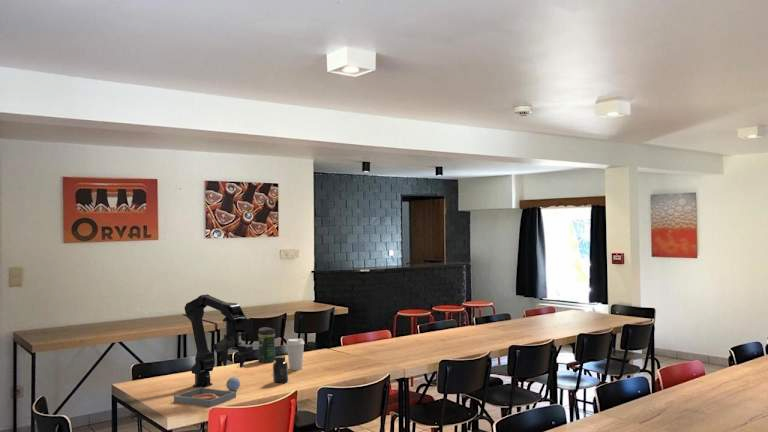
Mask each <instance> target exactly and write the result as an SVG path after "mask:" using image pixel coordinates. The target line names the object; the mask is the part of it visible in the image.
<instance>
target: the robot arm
mask: <svg viewBox="0 0 768 432" xmlns="http://www.w3.org/2000/svg"><path fill="white" fill-rule="evenodd" d="M207 307H210V308H212V309H215V310H216V311H219V312H220V313H221V315H223V316H224V318H223V319H222V322H223V323H224V322H225V334H224V335H223V339H221V340H220V341H219V342H215V343H214V344H213V345H212V351H210V350H209V348H208V341H207V338H206V333H205V328H204V322H203V317H204V315H205V308H207ZM184 311H185V316H186V317H187V319H188V320H189V321H190V323H191V327H192V333H193V337H194V343H195V346H196V347H195V348H196V354H195V357H194V361H195V363H194V364H193V366H192V367H191V369H190V371H191V374H194V384H192V387H195V388H196V387H197V388H200V387H201V388H207V387H209V386H211V385H213V383H212V382H211V373H210V372H213V370H214V367H215V364H216V363H215V361H216V359H215V354H214V351H215V353H216V354H218V355H219V356H220V359H221V362H222V364H223V367H225V366H227V363H228V354H229V350H234V351H238V352H237V355H238V357H239V358H238V359H239V368H243V366H244V363H245V362H246V359H247V357H248V356H249V354H250V353H251V352H253V351H254V347H253V345H252V344H247V343H245V344H242V342H240V337H241V336H242V334H251V333H252V332H253V331H254V324H253V321H252V320H251V318H250V317H247V316H246V315H245V313H244V311H243V309H242V307H241V305H240V304H239V303H237V302H228V301H223V300H221V299H219V298H216V297H213V296H211V295H210V294H201V295H199V296H197V298H195V299H192V300H191V301H189V302H187V303H186V304H185V306H184Z"/></svg>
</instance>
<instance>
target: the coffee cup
mask: <svg viewBox="0 0 768 432" xmlns="http://www.w3.org/2000/svg"><path fill="white" fill-rule="evenodd" d="M285 344H286V349H287V356H288V367H289V369H288V370H290V371H299V370H303V363H304V362H303V361H304V360H303V358H304V348H305V347H304V345H305V341H304V339H303V338H289V339H287V341H286V343H285Z"/></svg>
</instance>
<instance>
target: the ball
mask: <svg viewBox="0 0 768 432" xmlns="http://www.w3.org/2000/svg"><path fill="white" fill-rule="evenodd" d="M225 385H226V388H227V389H228V391H233V392H237V391H238V389H239V388H240V386H241V381H240V380H239V378H237V377H235V376H233V377H230V378H229V379H228V380H227V381H226V384H225Z"/></svg>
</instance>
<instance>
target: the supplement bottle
mask: <svg viewBox="0 0 768 432" xmlns="http://www.w3.org/2000/svg"><path fill="white" fill-rule="evenodd" d="M288 367H289V363H288V362H287V361H286V356H285V355H277V356H276V355H275V361H274V362H273V365H272V373H273V374H272V375H273V377H272V378H273V383H274V384H285V383H288V381H289V369H288Z"/></svg>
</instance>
